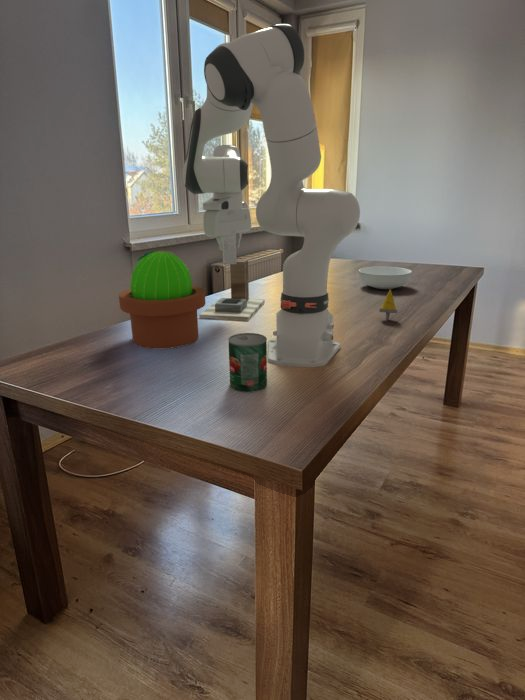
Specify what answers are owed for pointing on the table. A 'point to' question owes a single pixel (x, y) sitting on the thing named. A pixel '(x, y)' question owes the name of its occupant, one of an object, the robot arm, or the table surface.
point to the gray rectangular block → (230, 249)
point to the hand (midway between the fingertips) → (229, 248)
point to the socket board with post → (235, 298)
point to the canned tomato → (248, 362)
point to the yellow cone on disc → (388, 305)
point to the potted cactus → (162, 302)
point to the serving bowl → (384, 277)
